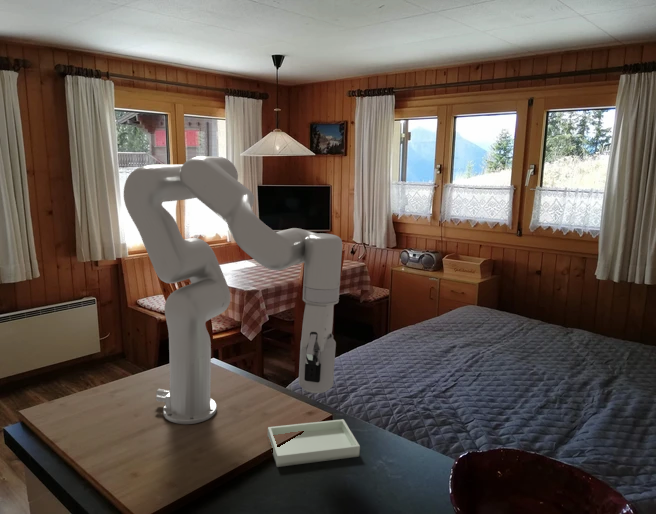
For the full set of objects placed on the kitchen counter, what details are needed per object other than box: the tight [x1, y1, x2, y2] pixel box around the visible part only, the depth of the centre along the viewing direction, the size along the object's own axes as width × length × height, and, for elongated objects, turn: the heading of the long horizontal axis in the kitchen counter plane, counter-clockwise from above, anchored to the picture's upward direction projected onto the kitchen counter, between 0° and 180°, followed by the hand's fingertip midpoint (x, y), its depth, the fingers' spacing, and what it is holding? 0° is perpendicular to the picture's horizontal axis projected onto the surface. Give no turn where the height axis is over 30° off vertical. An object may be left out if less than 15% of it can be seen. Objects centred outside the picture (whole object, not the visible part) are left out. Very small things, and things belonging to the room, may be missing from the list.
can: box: [298, 333, 337, 394], centre depth 108 cm, size 8×8×12 cm
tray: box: [267, 418, 361, 468], centre depth 112 cm, size 18×11×2 cm, turn 107°
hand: (316, 372), depth 109 cm, fingers closed on can, 7 cm apart
